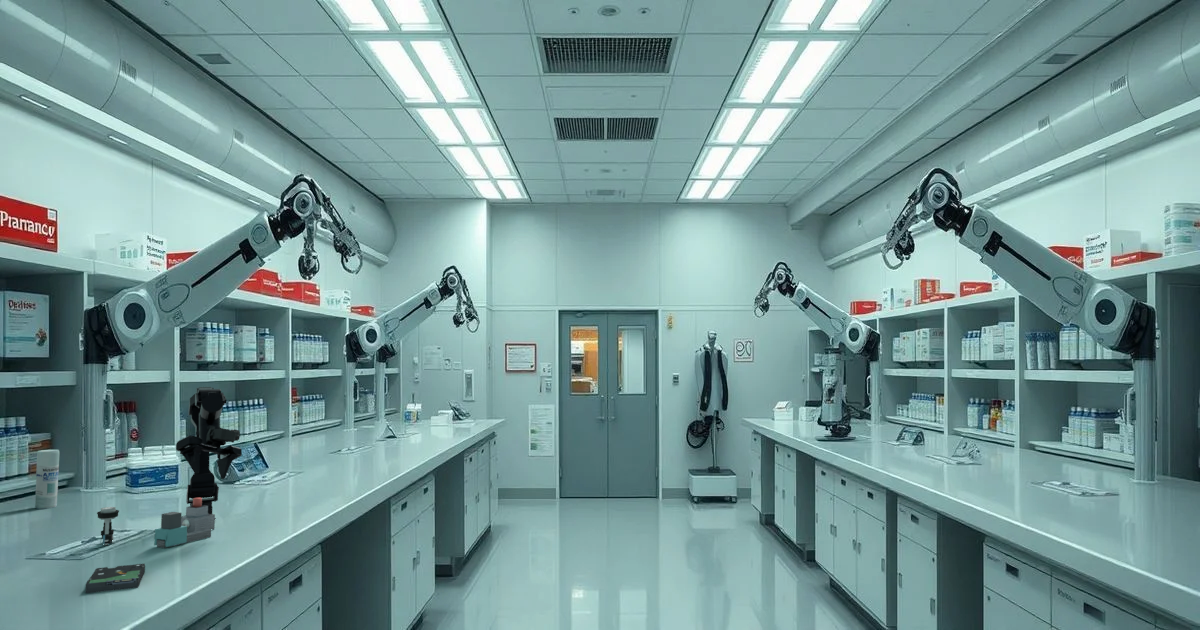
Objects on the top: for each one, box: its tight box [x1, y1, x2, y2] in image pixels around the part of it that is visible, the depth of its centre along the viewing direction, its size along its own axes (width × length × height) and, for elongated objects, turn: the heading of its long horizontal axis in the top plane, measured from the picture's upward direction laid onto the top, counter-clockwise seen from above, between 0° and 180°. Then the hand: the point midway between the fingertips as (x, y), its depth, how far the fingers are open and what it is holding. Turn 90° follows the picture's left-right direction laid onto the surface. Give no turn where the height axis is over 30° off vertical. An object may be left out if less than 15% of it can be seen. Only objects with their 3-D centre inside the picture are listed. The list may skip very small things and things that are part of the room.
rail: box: [156, 529, 212, 549], centre depth 218 cm, size 15×3×2 cm, turn 157°
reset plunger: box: [193, 497, 202, 507], centre depth 233 cm, size 2×2×2 cm
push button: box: [96, 506, 120, 546], centre depth 215 cm, size 7×5×10 cm
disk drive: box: [85, 563, 146, 594], centre depth 178 cm, size 10×3×15 cm
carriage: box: [153, 511, 187, 548], centre depth 214 cm, size 6×5×8 cm
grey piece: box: [181, 505, 216, 533], centre depth 233 cm, size 7×7×7 cm
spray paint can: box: [34, 449, 61, 510], centre depth 271 cm, size 6×6×20 cm
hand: (210, 476), depth 221 cm, fingers open, 9 cm apart
